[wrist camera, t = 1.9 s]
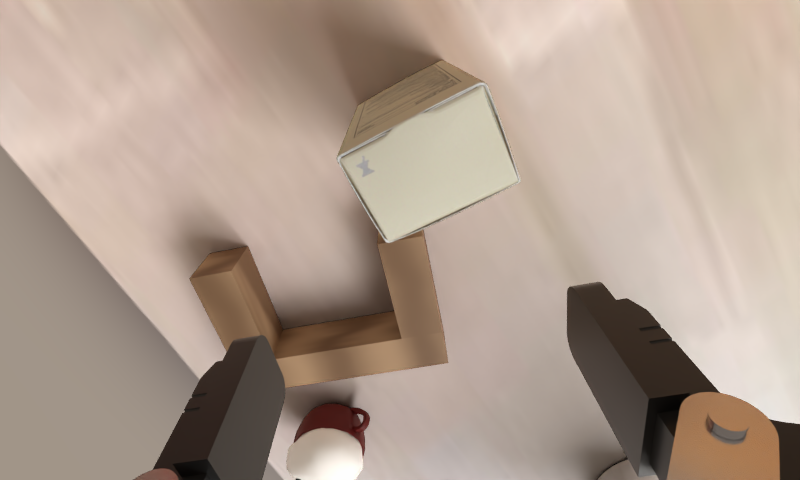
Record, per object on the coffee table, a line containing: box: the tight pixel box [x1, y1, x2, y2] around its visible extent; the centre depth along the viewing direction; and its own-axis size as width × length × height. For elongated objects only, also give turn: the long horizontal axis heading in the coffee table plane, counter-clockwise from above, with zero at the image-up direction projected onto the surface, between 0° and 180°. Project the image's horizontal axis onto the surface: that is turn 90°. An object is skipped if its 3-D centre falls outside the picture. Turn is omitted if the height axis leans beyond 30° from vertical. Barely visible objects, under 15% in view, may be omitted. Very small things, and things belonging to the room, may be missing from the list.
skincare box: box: [337, 60, 521, 243], centre depth 21 cm, size 6×4×12 cm
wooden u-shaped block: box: [189, 230, 448, 388], centre depth 32 cm, size 16×11×4 cm
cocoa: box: [286, 404, 370, 480], centre depth 34 cm, size 10×6×12 cm, turn 107°
